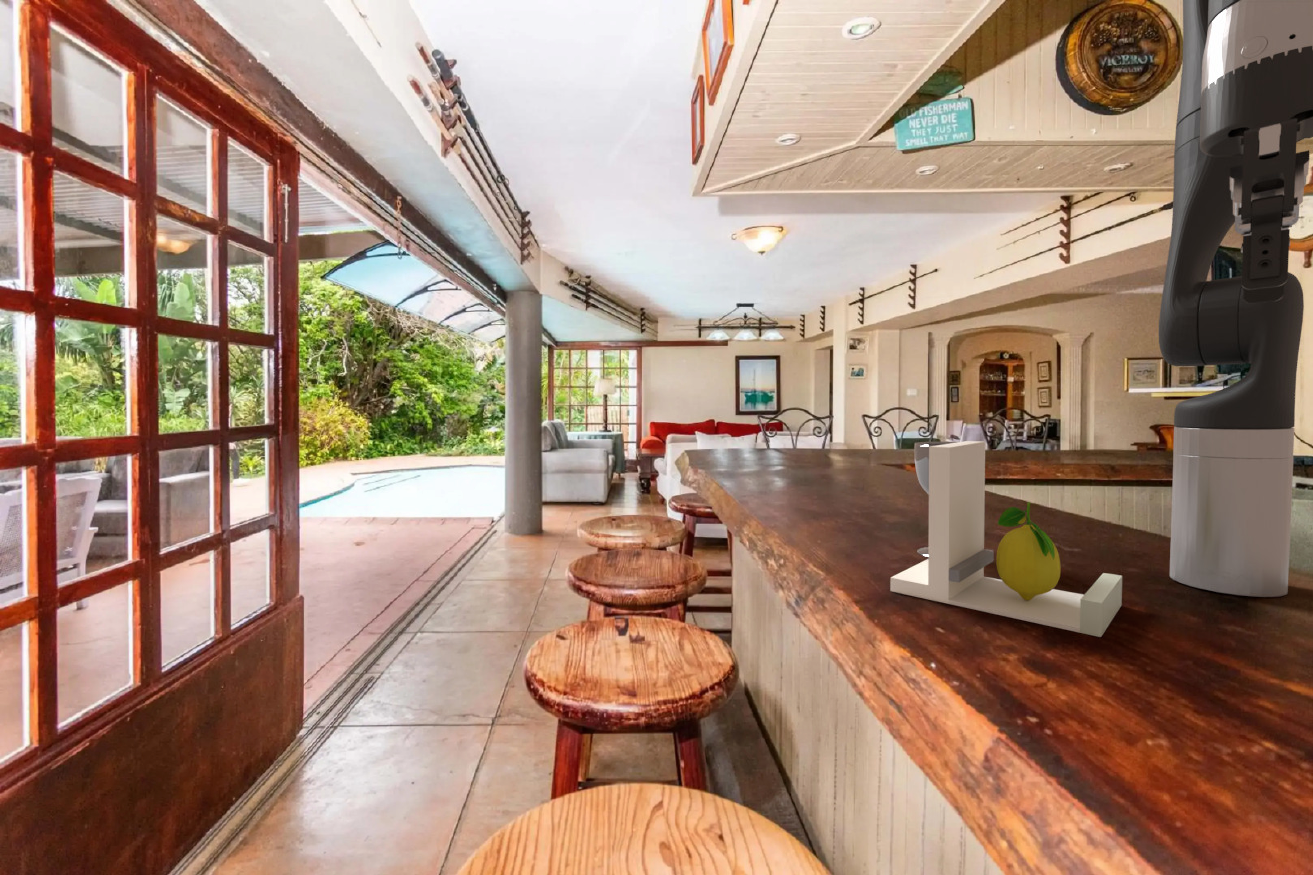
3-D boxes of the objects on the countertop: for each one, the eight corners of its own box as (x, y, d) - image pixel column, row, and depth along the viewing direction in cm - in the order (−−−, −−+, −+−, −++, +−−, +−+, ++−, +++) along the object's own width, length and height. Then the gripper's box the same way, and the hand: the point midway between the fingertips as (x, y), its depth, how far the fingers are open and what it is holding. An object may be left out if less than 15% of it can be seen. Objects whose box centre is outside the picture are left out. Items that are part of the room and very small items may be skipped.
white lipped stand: (929, 570, 71) (930, 440, 70) (1121, 605, 58) (1125, 445, 57) (890, 590, 63) (890, 445, 63) (1100, 637, 50) (1105, 453, 49)
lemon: (996, 585, 63) (998, 495, 63) (1062, 595, 60) (1064, 499, 59) (986, 602, 58) (987, 503, 58) (1057, 614, 54) (1059, 509, 54)
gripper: (1365, -2, 35) (1352, 272, 36) (1341, 86, 45) (1331, 299, 45) (1194, 55, 40) (1187, 291, 41) (1206, 122, 50) (1200, 312, 51)
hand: (1263, 295), depth 43 cm, fingers open, 8 cm apart
